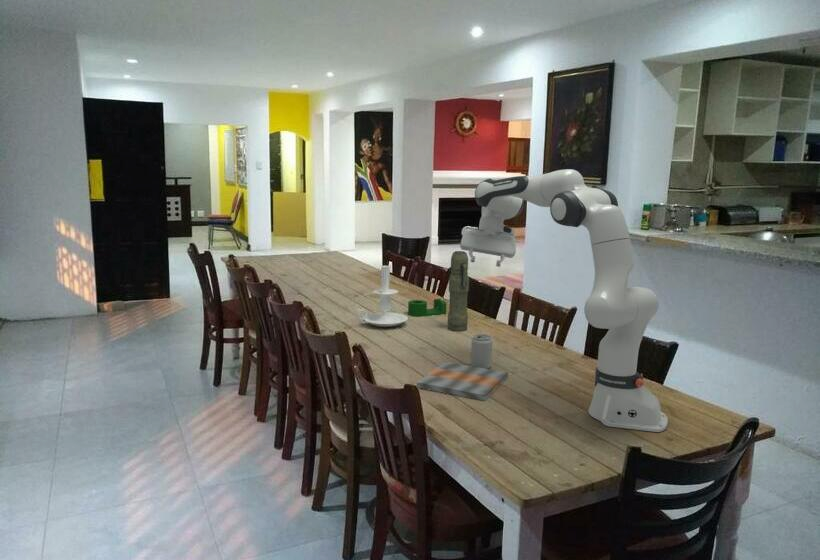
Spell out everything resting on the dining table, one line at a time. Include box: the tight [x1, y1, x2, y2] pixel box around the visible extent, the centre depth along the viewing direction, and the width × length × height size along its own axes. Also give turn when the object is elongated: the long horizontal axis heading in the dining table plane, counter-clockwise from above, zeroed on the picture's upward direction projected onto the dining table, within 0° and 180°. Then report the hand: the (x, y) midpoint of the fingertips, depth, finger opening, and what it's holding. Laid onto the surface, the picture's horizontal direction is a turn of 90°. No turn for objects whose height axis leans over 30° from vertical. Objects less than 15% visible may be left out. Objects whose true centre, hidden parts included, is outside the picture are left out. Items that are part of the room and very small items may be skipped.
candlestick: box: [356, 264, 409, 328], centre depth 280 cm, size 21×25×28 cm
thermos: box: [447, 250, 470, 333], centre depth 275 cm, size 9×12×35 cm
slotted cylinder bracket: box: [407, 298, 447, 318], centre depth 304 cm, size 18×9×6 cm, turn 113°
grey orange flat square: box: [416, 361, 509, 402], centre depth 212 cm, size 24×24×2 cm
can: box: [470, 333, 493, 369], centre depth 227 cm, size 8×8×12 cm
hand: (485, 263), depth 224 cm, fingers open, 8 cm apart
